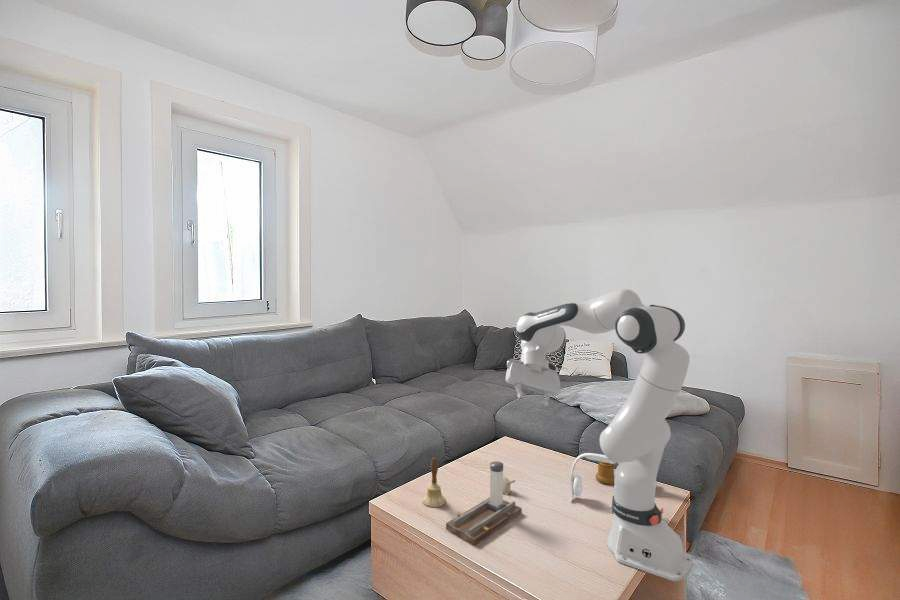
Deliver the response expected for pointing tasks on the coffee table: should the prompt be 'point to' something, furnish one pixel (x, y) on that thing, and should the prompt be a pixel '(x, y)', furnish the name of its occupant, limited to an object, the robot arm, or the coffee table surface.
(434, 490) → the hand bell
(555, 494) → the coffee table surface
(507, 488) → the decorative ornament
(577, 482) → the headset
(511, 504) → the fader track
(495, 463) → the fader tab
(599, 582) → the coffee table surface
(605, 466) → the ornamental finial
